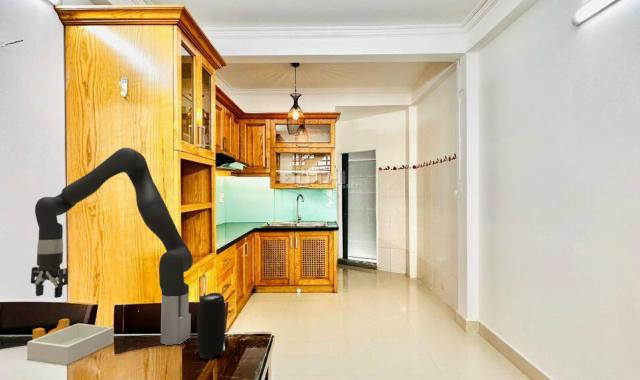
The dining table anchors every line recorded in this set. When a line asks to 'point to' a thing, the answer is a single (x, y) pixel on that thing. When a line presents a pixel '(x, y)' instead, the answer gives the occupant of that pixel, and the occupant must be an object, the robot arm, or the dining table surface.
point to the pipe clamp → (41, 331)
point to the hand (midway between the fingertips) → (48, 296)
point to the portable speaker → (211, 325)
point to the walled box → (70, 343)
